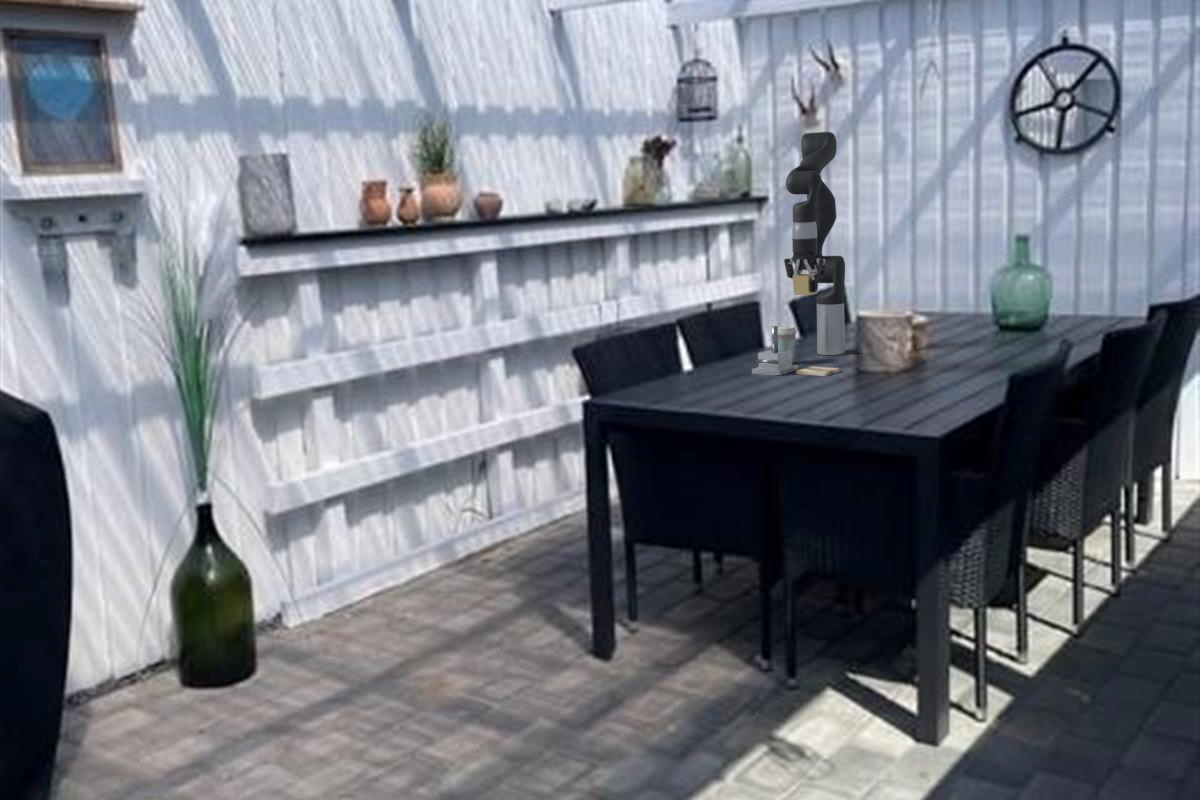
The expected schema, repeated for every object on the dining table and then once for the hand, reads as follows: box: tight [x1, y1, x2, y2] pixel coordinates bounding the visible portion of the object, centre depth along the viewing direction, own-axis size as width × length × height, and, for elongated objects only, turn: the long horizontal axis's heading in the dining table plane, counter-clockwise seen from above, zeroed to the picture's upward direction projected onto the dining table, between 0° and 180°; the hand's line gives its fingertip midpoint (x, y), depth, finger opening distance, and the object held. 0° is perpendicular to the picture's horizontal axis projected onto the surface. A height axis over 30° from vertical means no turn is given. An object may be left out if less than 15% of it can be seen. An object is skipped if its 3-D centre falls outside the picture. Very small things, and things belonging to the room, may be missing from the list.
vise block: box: [751, 325, 800, 376], centre depth 405 cm, size 12×10×14 cm
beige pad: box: [795, 365, 841, 377], centre depth 401 cm, size 10×10×1 cm
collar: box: [793, 273, 818, 296], centre depth 398 cm, size 5×5×6 cm
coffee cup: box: [770, 325, 797, 364], centre depth 421 cm, size 9×9×12 cm
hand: (805, 291), depth 398 cm, fingers closed on collar, 5 cm apart
